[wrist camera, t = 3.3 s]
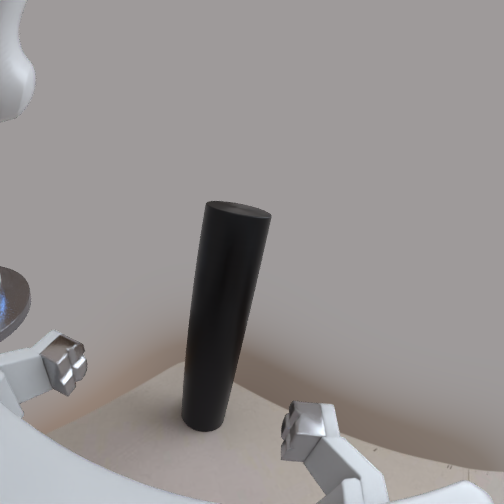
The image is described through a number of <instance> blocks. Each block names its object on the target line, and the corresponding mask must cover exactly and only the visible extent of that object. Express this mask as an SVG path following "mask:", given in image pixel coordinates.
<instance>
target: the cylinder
mask: <svg viewBox="0 0 504 504" xmlns="http://www.w3.org/2000/svg"><path fill="white" fill-rule="evenodd" d="M270 221H271V214H270V213H268V212H266V211H264V210H261V209H258V208H255V207H251V206H247V205H243V204H238V203H231V202H223V201H211V202H207V203H206V206H205V212H204V218H203V224H202V230H201V236H200V244H199V250H198V256H197V263H196V271H195V278H194V286H193V294H192V302H191V310H190V319H189V328H188V338H187V348H186V359H185V371H184V383H183V398H182V418H183V420H184V422H185V423H186V424H187V425H188V426H189V427H191V428H192V429H195V430H198V431H203V432H208V431H213V430H215V429H217V428H219V427H220V426H221V425H222V423H223V421H224V417H225V413H226V409H227V405H228V401H229V397H230V392H231V388H232V384H233V380H234V376H235V372H236V368H237V363H238V359H239V355H240V351H241V347H242V343H243V338H244V334H245V330H246V326H247V321H248V317H249V313H250V309H251V304H252V300H253V296H254V291H255V287H256V283H257V278H258V274H259V269H260V265H261V261H262V256H263V252H264V247H265V243H266V238H267V234H268V229H269V225H270Z"/></svg>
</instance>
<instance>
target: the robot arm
mask: <svg viewBox="0 0 504 504" xmlns="http://www.w3.org/2000/svg"><path fill="white" fill-rule="evenodd" d="M27 1H28V0H0V122H3V121H8V120H11V119H15V118H17V117H18V116H19V115H20V114H21V113H22V112H23V111H24V110H25V108H26V107H27V106H28V104H29V102H30V100H31V98H32V96H33V93H34V90H35V85H36V74H35V69H34V67H33V65H32V63H31V62H30V61H29V59H28V58H27V57H26V56H25V54H24V52H23V50H22V48H21V44H20V39H19V25H20V20H21V17H22V14H23V11H24V8H25V5H26V3H27ZM0 282H1V276H0ZM84 351H85V350H84V346H83V344H82V343H80V342H78V341H76V340H74V339H72V338H70V337H68V336H65V335H64V334H61V333H60V332H58V331H56V330H52V331H50V332H49V333H48V334H47V335H45V336H44V337H43V338H42V339H41V340H40V341H39V342H38V343H36V344H35V345H34V346H33V347H32V348H31V349H30V348H24V349H19V350H15V351H11V352H6V353H1V354H0V504H220V503H214V502H209V501H204V500H199V499H195V498H191V497H187V496H183V495H179V494H175V493H172V492H168V491H165V490H162V489H158V488H155V487H152V486H149V485H146V484H143V483H141V482H138V481H135V480H133V479H130V478H127V477H125V476H122V475H120V474H118V473H115V472H113V471H111V470H108V469H106V468H104V467H102V466H100V465H98V464H96V463H94V462H92V461H90V460H88V459H86V458H84V457H82V456H80V455H78V454H76V453H74V452H73V451H71V450H69V449H67V448H65V447H64V446H62V445H60V444H59V443H57V442H55V441H54V440H52V439H51V438H49V437H48V436H46V435H44V434H43V433H41V432H40V431H38V430H37V429H36V428H34V427H33V426H31V425H30V424H28V423H27V422H26V421H24V420H23V419H22V417H23V416H24V412H23V410H22V408H21V406H20V403H22V402H25V401H27V400H30V399H32V398H34V397H36V396H38V395H41V394H43V393H46V392H48V391H50V390H52V388H53V389H54V390H57V391H58V392H60V393H62V394H64V395H66V396H69V395H70V394H71V392H72V391H73V390H74V389H75V387H76V382H77V381H80V380H82V379H83V377H84V376H85V373H86V371H87V360H86V358H85V357H84V355H83V353H84ZM281 437H282V439H283V440H284V441H283V443H282V445H281V460H286V461H297V462H303V463H304V465H305V466H306V468H307V469H308V471H309V472H310V474H311V475H312V476H313V478H314V479H315V481H316V482H317V483H318V485H319V486H320V488H321V489H322V490H323V492H324V493H325V494H326V496H325V497H324V498H322V499H321V500H320V501H319V502H317V503H316V504H494V503H493V500H492V498H491V497H490V495H489V494H488V493H487V492H486V491H484V490H483V489H481V488H480V487H478V486H477V485H475V484H474V483H472V482H470V481H468V480H463V481H459V482H456V483H454V484H451V485H448V486H445V487H443V488H440V489H437V490H433V491H430V492H427V493H423V494H420V495H416V496H412V497H409V498H404V499H400V500H396V501H391V502H389V497H388V493H387V489H386V484H385V480H384V476H383V474H382V473H381V472H380V471H379V470H378V469H377V468H375V467H374V466H373V465H372V464H371V463H370V462H369V461H368V460H367V459H366V458H365V457H364V456H363V455H362V454H361V453H360V452H358V451H357V450H356V449H355V448H354V447H353V446H352V445H351V444H350V443H349V442H348V441H347V440H346V439H345V438H344V437H340V433H339V428H338V424H337V418H336V413H335V408H334V406H333V404H322V403H309V402H300V401H292V403H291V404H290V406H289V413H287V414H286V415H285V417H284V419H283V423H282V428H281Z"/></svg>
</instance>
